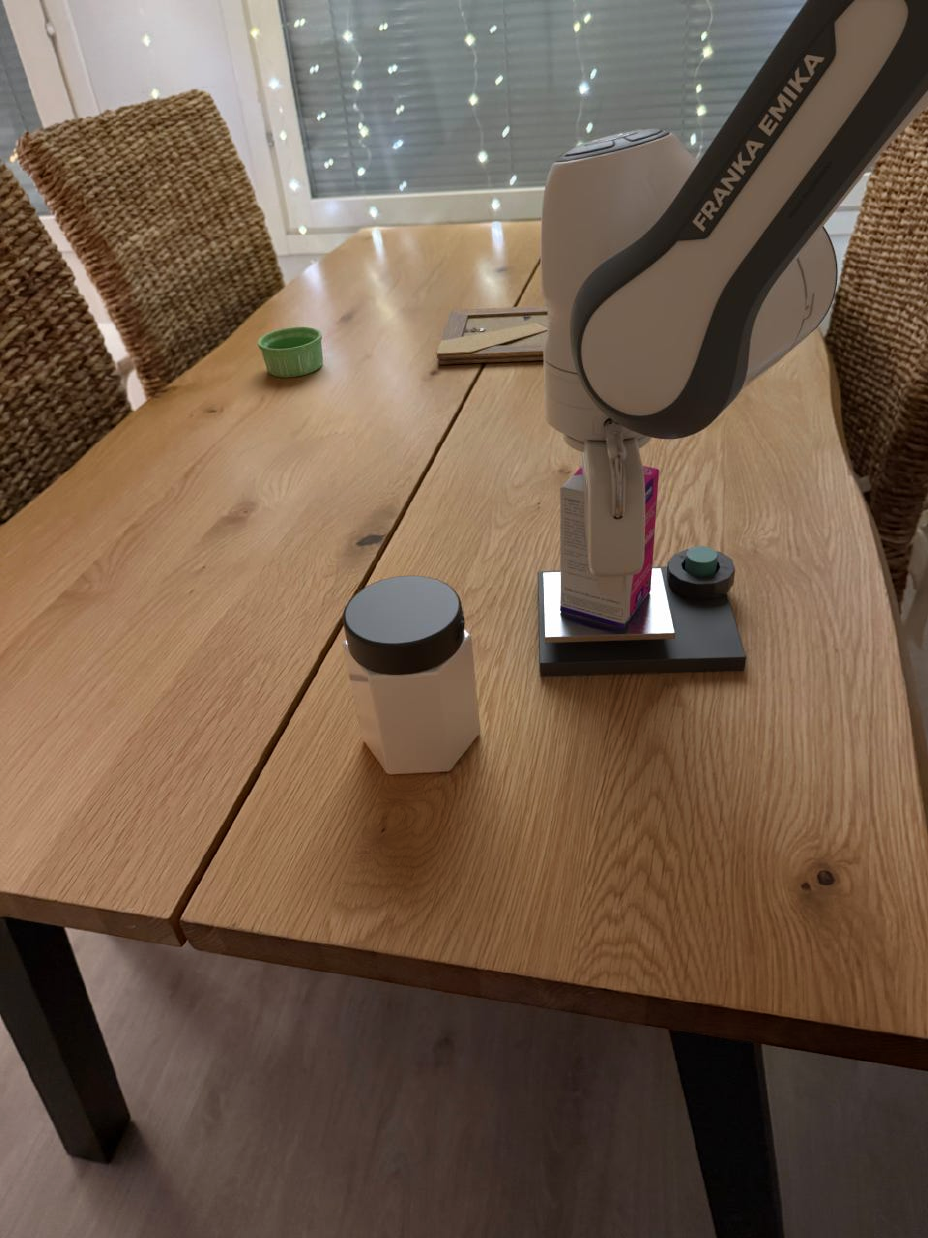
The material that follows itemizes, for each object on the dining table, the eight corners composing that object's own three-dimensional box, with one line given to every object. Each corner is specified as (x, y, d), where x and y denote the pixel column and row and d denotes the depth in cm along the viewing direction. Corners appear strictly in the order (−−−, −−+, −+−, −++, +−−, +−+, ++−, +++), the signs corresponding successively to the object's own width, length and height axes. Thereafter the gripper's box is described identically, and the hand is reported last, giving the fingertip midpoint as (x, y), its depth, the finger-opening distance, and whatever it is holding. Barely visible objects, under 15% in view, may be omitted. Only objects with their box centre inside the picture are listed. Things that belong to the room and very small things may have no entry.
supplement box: (627, 631, 71) (630, 502, 65) (558, 612, 74) (554, 486, 67) (655, 591, 75) (660, 465, 68) (588, 575, 78) (587, 452, 71)
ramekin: (332, 354, 135) (327, 324, 132) (319, 378, 128) (313, 347, 125) (273, 356, 136) (267, 327, 133) (256, 381, 129) (249, 350, 126)
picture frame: (437, 365, 128) (610, 358, 125) (436, 353, 127) (610, 345, 124) (452, 319, 143) (606, 312, 140) (451, 308, 142) (606, 300, 138)
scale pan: (660, 573, 78) (661, 567, 78) (674, 639, 71) (675, 633, 71) (543, 578, 79) (543, 572, 79) (545, 643, 72) (544, 637, 72)
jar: (498, 749, 67) (488, 619, 60) (399, 796, 65) (375, 665, 57) (441, 683, 74) (425, 558, 67) (348, 723, 71) (321, 597, 64)
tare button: (713, 560, 80) (715, 545, 79) (718, 577, 78) (720, 561, 77) (683, 561, 80) (684, 546, 79) (687, 578, 78) (688, 563, 77)
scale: (725, 575, 83) (728, 546, 81) (754, 670, 72) (758, 640, 70) (538, 582, 84) (536, 554, 82) (540, 676, 74) (538, 647, 72)
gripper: (672, 458, 55) (662, 638, 64) (639, 337, 72) (634, 493, 80) (567, 463, 56) (570, 641, 64) (558, 342, 72) (561, 496, 81)
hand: (605, 557), depth 72 cm, fingers closed on supplement box, 7 cm apart
